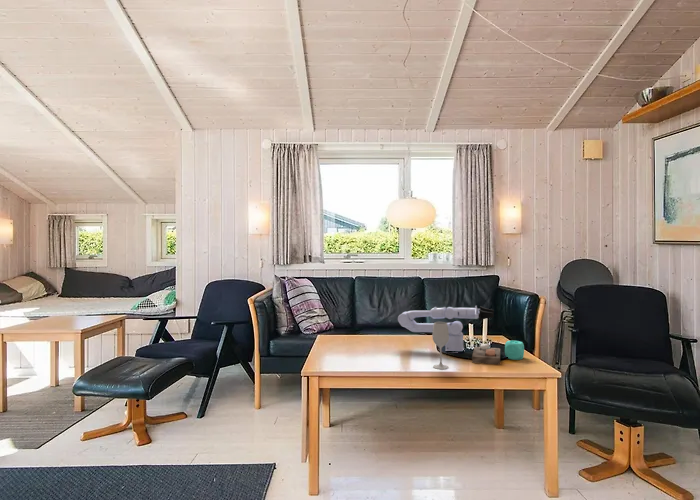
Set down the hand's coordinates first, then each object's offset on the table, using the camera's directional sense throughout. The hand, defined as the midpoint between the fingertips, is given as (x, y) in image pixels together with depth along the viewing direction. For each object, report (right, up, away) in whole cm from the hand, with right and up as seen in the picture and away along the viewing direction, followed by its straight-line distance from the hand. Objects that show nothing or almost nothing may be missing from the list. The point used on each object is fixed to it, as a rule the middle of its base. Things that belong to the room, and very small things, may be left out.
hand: (493, 313), depth 236 cm
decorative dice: (+8, -21, -9) cm, 24 cm away
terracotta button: (-6, -19, -14) cm, 24 cm away
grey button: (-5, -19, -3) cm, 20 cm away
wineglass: (-33, -22, -24) cm, 46 cm away
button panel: (-6, -21, -9) cm, 24 cm away
